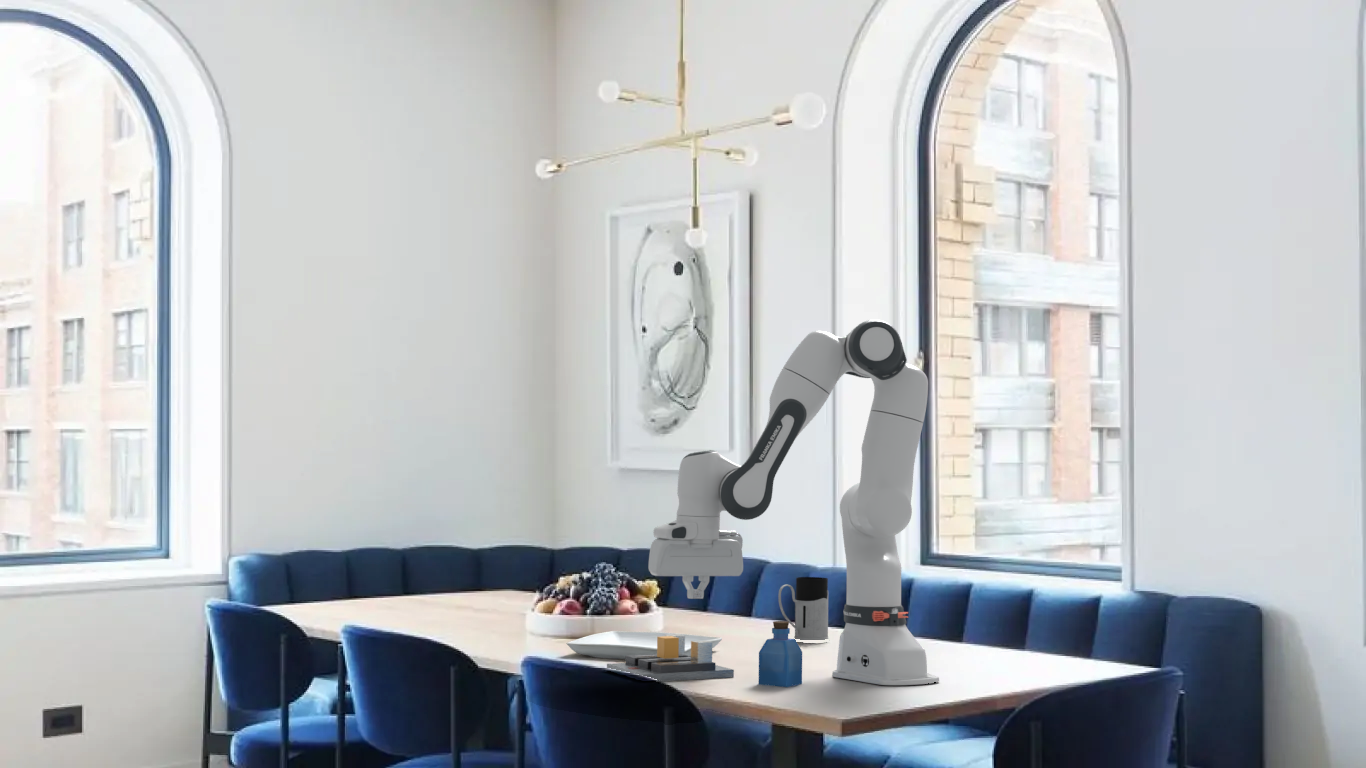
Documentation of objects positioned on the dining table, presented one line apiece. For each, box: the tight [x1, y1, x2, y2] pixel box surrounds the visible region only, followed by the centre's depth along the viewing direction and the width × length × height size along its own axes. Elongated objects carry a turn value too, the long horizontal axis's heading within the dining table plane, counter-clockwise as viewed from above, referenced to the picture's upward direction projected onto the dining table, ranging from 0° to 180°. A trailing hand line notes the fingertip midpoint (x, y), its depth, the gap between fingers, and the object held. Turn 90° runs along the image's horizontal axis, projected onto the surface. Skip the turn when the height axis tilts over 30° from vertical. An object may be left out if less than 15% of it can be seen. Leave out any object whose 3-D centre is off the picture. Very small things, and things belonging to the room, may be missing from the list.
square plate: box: [566, 630, 723, 660], centre depth 369 cm, size 27×27×4 cm
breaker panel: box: [606, 633, 735, 682], centre depth 336 cm, size 17×20×7 cm
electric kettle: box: [777, 576, 829, 640], centre depth 397 cm, size 9×14×15 cm, turn 124°
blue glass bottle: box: [758, 620, 803, 688], centre depth 325 cm, size 6×6×12 cm
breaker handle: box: [657, 636, 679, 659], centre depth 336 cm, size 3×3×4 cm
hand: (695, 598), depth 339 cm, fingers closed
